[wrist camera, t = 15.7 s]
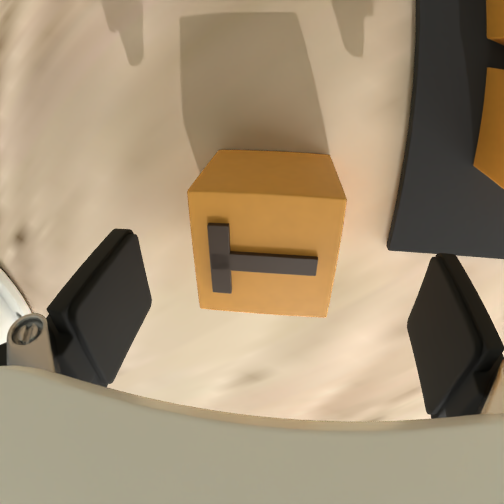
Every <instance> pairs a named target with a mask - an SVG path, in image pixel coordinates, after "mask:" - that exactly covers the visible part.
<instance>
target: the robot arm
mask: <svg viewBox="0 0 504 504" xmlns="http://www.w3.org/2000/svg"><path fill="white" fill-rule="evenodd" d="M151 302H152V299H151V294H150V290H149V286H148V281H147V277H146V273H145V268H144V264H143V259H142V255H141V250H140V245H139V240H138V237H137V235H136V234H133V232H132V230H130V229H114V230H112V231H111V233H110V234H109V235H108V236H107V237H106V238H105V239H104V240H103V241H102V242H101V244H100V245H99V246H98V247H97V248H96V249H95V250H94V252H93V253H92V254H91V255H90V256H89V257H88V258H87V260H86V261H85V262H84V263H83V264H82V265H81V267H80V268H79V269H78V270H77V271H76V273H75V274H74V275H73V276H72V277H71V279H70V280H69V281H68V282H67V283H66V285H65V286H64V287H63V288H62V290H61V291H60V292H59V293H58V295H57V296H56V297H55V299H54V300H53V301H52V302H51V304H50V305H49V306H48V308H47V311H48V313H49V315H48V316H47V318H45V317H44V316H43V315H41V314H38V313H31V311H30V309H29V307H28V305H27V303H26V302H25V300H24V298H23V296H22V295H21V294H20V292H19V291H18V289H17V288H16V286H15V285H14V284H13V282H12V281H11V280H10V279H9V277H8V276H7V275H6V274H5V273H4V271H3V270H2V269H1V268H0V504H504V357H503V354H502V352H503V351H504V346H503V344H502V341H501V339H500V337H499V335H498V333H497V331H496V328H495V326H494V324H493V322H492V320H491V318H490V316H489V314H488V312H487V310H486V308H485V306H484V304H483V302H482V301H481V299H480V297H479V295H478V293H477V291H476V289H475V288H474V286H473V284H472V282H471V280H470V279H469V277H468V275H467V273H466V272H465V270H464V268H463V267H462V265H461V263H460V261H459V260H458V258H457V257H456V255H455V254H447V253H438V254H437V255H436V257H432V258H431V260H430V263H429V266H428V269H427V271H426V274H425V277H424V280H423V283H422V285H421V288H420V291H419V293H418V296H417V298H416V301H415V304H414V306H413V309H412V311H411V313H410V316H409V318H408V322H407V329H408V333H409V337H410V341H411V345H412V349H413V353H414V357H415V361H416V365H417V370H418V374H419V379H420V383H421V388H422V393H423V398H424V403H425V408H426V412H427V413H428V414H431V419H420V420H404V421H378V422H339V421H311V420H294V419H281V418H270V417H260V416H251V415H243V414H235V413H227V412H221V411H214V410H208V409H202V408H196V407H190V406H185V405H179V404H174V403H169V402H164V401H160V400H155V399H151V398H146V397H142V396H138V395H134V394H130V393H126V392H122V391H118V390H114V389H111V388H107V385H108V384H111V383H112V382H113V381H114V379H115V377H116V375H117V373H118V371H119V369H120V367H121V365H122V362H123V360H124V358H125V356H126V354H127V352H128V350H129V348H130V346H131V344H132V342H133V340H134V338H135V336H136V334H137V332H138V331H139V329H140V327H141V325H142V323H143V321H144V319H145V317H146V315H147V313H148V311H149V309H150V307H151Z"/></svg>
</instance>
